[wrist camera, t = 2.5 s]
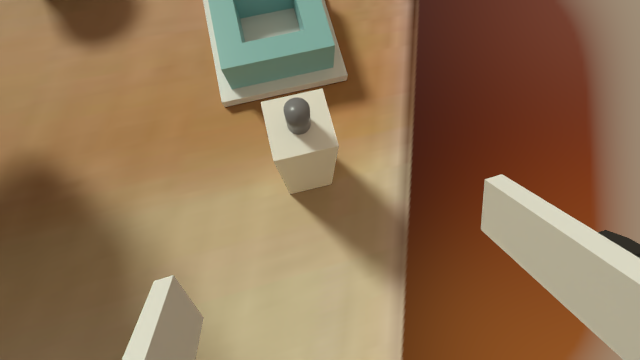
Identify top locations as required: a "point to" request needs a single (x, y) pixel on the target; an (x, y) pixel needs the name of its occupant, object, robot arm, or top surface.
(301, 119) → the plug
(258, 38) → the socket
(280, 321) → the top surface
